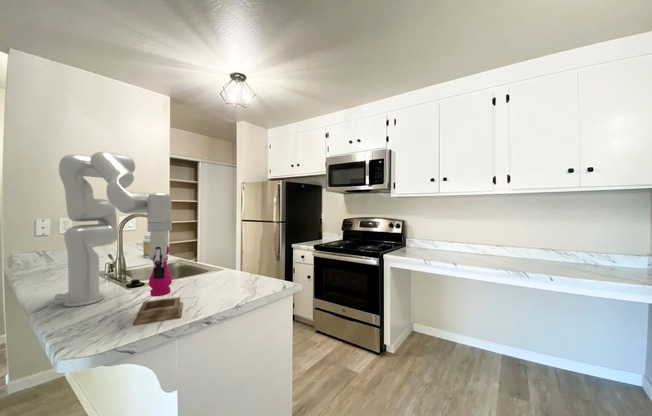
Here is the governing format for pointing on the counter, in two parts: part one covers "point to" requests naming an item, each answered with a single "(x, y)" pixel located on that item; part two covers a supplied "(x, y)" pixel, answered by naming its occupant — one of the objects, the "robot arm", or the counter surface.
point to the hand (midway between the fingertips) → (160, 276)
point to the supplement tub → (146, 246)
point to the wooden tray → (159, 310)
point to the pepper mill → (161, 280)
